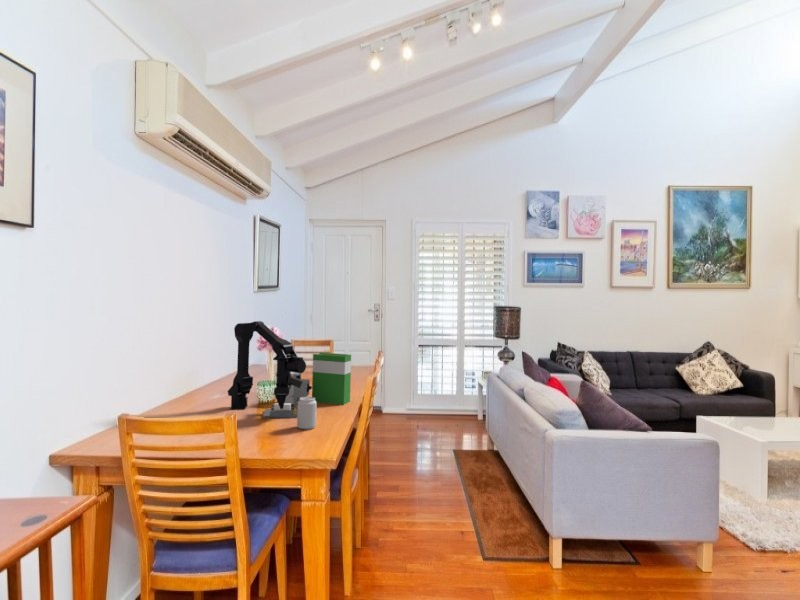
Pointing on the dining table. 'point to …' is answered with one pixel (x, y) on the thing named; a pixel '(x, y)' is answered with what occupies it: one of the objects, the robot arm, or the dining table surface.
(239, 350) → the robot arm
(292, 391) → the circuit breaker
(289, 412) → the rack
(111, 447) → the dining table surface
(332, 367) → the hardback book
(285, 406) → the white rectangular prism
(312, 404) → the can
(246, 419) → the dining table surface
